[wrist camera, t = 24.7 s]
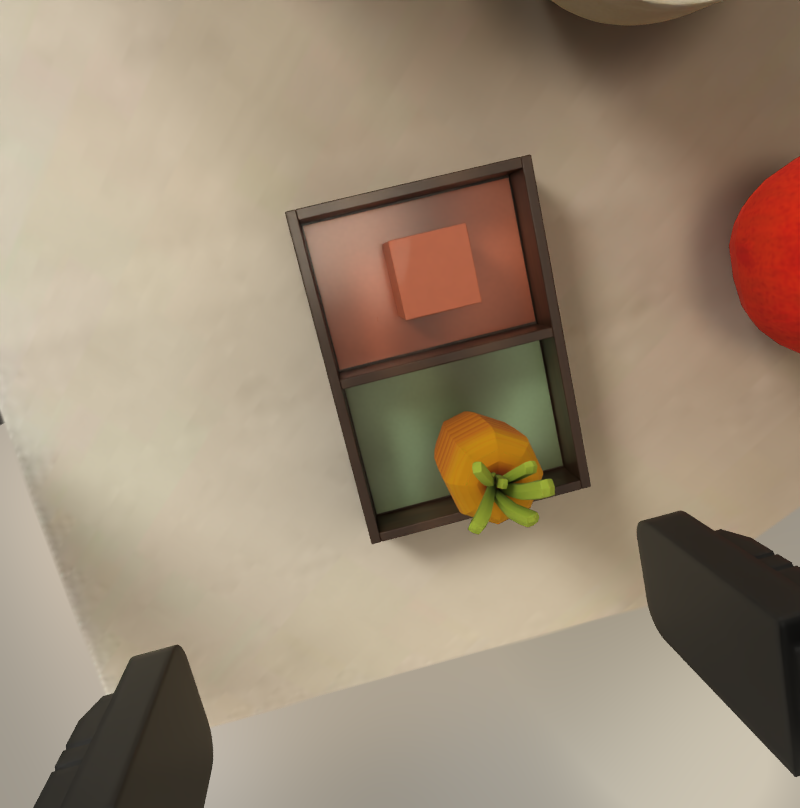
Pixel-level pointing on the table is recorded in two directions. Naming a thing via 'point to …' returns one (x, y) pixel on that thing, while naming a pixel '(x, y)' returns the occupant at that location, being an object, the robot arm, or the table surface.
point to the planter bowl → (632, 10)
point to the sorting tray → (438, 338)
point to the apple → (771, 256)
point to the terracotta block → (432, 272)
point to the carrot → (490, 470)
